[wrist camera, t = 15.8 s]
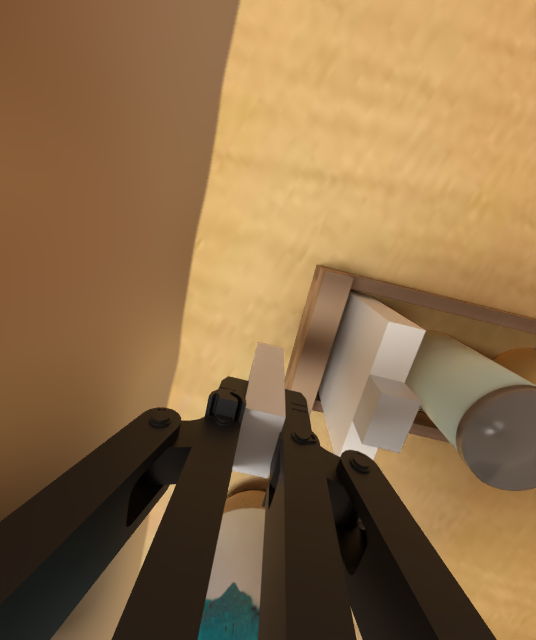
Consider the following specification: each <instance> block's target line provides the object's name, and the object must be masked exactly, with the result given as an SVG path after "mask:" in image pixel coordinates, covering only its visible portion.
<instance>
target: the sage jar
mask: <svg viewBox="0 0 536 640" xmlns="http://www.w3.org/2000/svg"><path fill="white" fill-rule="evenodd" d="M405 384H406V385H407V386H408V387H409V388H410V390H411V391H412V392H413V393H414V394H415V395H416V396H417V398H418V399H419V400H420V401H421V402H422V403H421V405H420V407H421V408H422V410H423V411H424V412H425V413H426V414H427V416H428V417H429V418H430V419H431V420H432V421H433V423H434V424H435V425H436V426H437V427H438V429H439V430H440V431H441V432H442V433H443V435H444V436H445V437H446V438H447V439H448V441H449V442H450V443H451V444H452V445H453V446H454V448H455V449H456V450H457V451H458V453H459V455H460V457H461V458H462V460H463V461H464V462H465V463H466V465H467V466H468V467H469V468H470V470H471V471H472V472H473V473H474V474H475V475H476V477H477V478H479V479H480V480H481V481H482V482H484V483H486V484H487V485H490V486H492V487H495V488H498V489H502V490H511V491H520V490H528V489H533V488H536V385H534V384H533V383H531V382H529V381H527V380H526V379H524V378H522V377H520V376H519V375H517V374H515V373H513V372H512V371H510V370H508V369H506V368H504V367H503V366H501V365H499V364H497V363H496V362H494V361H492V360H490V359H489V358H487V357H485V356H483V355H482V354H480V353H478V352H476V351H475V350H473V349H471V348H469V347H468V346H466V345H464V344H462V343H461V342H459V341H457V340H455V339H454V338H452V337H450V336H448V335H446V334H444V333H441V332H436V331H426V332H425V334H424V336H423V339H422V341H421V344H420V346H419V349H418V351H417V354H416V356H415V359H414V361H413V364H412V366H411V368H410V371H409V373H408V376H407V378H406V381H405Z"/></svg>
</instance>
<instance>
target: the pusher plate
mask: <svg viewBox="0 0 536 640" xmlns="http://www.w3.org/2000/svg"><path fill="white" fill-rule="evenodd" d="M425 332H426V330H424V329H423V328H421V327H420V326H418V325H416V324H415V323H413V322H411V321H410V320H408V319H407V318H405V317H403V316H402V315H400V314H398V313H397V312H395V311H394V310H392V309H390V308H389V307H387V306H386V305H384V304H382V303H381V302H379V301H377V300H376V299H374V298H373V297H371V296H369V295H365V294H361V293H357V292H353V291H350V292H349V295H348V298H347V301H346V304H345V307H344V310H343V314H342V317H341V320H340V323H339V326H338V329H337V332H336V335H335V339H334V342H333V345H332V348H331V351H330V354H329V357H328V361H327V364H326V367H325V370H324V373H323V376H322V379H321V382H320V386H319V389H318V392H319V396H320V400H321V404H322V408H323V412H324V416H325V420H326V424H327V428H328V432H329V436H330V440H331V444H332V448H333V452H334V454H335V455H337V456H339V457H341V454H342V453H343V452H344V451H345V450H355V451H359V452H361V453H363V454H365V455H367V456H368V457H370V458H371V459H372V460H373V459H374V457H375V454H376V452H377V450H378V448H380V449H384V450H389V451H393V452H397V453H400V451H401V449H402V447H403V444H404V442H405V440H406V438H407V435H408V433H409V431H410V428H411V426H412V424H413V421H414V419H415V417H416V414H417V412H418V410H419V407H420V405H421V403H422V402H421V401H420V400H419V399H418V398H417V396H416V395H415V394H414V393H413V392H412V391H411V390H410V388H409V387H408V386H407V385H406V384H405V381H406V378H407V376H408V373H409V371H410V368H411V366H412V364H413V361H414V359H415V356H416V354H417V351H418V349H419V346H420V344H421V341H422V339H423V336H424V334H425Z"/></svg>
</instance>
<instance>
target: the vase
mask: <svg viewBox="0 0 536 640" xmlns="http://www.w3.org/2000/svg"><path fill="white" fill-rule="evenodd" d="M265 493H266V492H264V491H257V490H251V491H244V492H240V493H237V494H235V495H233V496H231V497H229V498H228V499H226V502H225V507H224V512H223V517H222V522H221V527H220V532H219V537H218V541H217V546H216V551H215V556H214V561H213V566H212V571H211V576H210V581H209V586H208V591H207V596H206V600H205V605H204V610H203V615H202V620H201V625H200V630H199V635H198V640H258V627H259V610H260V593H261V576H262V558H263V541H264V524H265V507H266V505H265V507H262V503H263V500H264V497H265Z"/></svg>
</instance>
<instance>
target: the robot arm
mask: <svg viewBox="0 0 536 640" xmlns="http://www.w3.org/2000/svg"><path fill="white" fill-rule="evenodd" d="M307 407H308V405H307V400H306V398H305V397H304V396H303V394H302V393H301V392H296V391H292V390H288V389H285V380H284V348H281V347H277V346H273V345H269V344H264V343H260V342H258V343H257V347H256V351H255V355H254V360H253V364H252V368H251V372H250V376H249V380H248V381H246V380H242V379H238V378H233V377H229V376H228V377H227V378H225V379H224V380H222V382H221V384H220V387H219V389H218V390H215V391H213V392H212V393H211V394H210V395H209V399H208V404H207V409H206V413H205V417H203V418H201V419H198V420H191V421H181V417H180V415H179V414H178V413H177V412H176V411H174V410H172V409H168V408H153V409H149V410H147V411H145V412H144V413H142V414H141V415H140V416H138V417H137V418H136V419H134V420H133V421H132V422H130V423H129V424H128V425H127V426H125V427H124V428H123V429H121V430H120V431H119V432H118V433H116V434H115V435H113V436H112V437H111V438H109V439H108V440H107V441H106V442H105V443H103V444H102V445H100V446H99V447H98V448H97V449H95V450H94V451H92V452H91V453H90V454H89V455H87V456H86V457H85V458H83V459H82V460H81V461H79V462H78V463H77V464H75V465H74V466H73V467H71V468H70V469H69V470H68V471H66V472H65V473H64V474H62V475H61V476H60V477H58V478H57V479H56V480H54V481H53V482H52V483H50V484H49V485H48V486H46V487H45V488H44V489H43V490H41V491H40V492H39V493H37V494H36V495H35V496H33V497H32V498H31V499H29V500H28V501H27V502H25V503H24V504H23V505H22V506H20V507H19V508H18V509H16V510H15V511H14V512H12V513H11V514H10V515H8V516H7V517H6V518H4V519H3V520H2V521H1V522H0V640H50V639H51V637H52V636H53V635H54V634H55V632H56V631H57V630H58V629H59V627H60V626H61V625H62V624H63V622H64V621H65V620H66V618H67V617H68V616H69V615H70V613H71V612H72V611H73V610H74V608H75V607H76V606H77V604H78V603H79V602H80V601H81V599H82V598H83V597H84V595H85V594H86V593H87V592H88V590H89V589H90V588H91V586H92V585H93V584H94V583H95V581H96V580H97V579H98V578H99V576H100V575H101V574H102V572H103V571H104V570H105V569H106V567H107V566H108V565H109V563H110V562H111V561H112V560H113V558H114V557H115V556H116V555H117V553H118V552H119V551H120V549H121V548H122V547H123V545H124V544H125V543H126V542H127V540H128V539H129V538H130V537H131V535H132V534H133V533H134V531H135V530H136V529H137V528H138V526H139V525H140V524H141V522H142V521H143V520H144V519H145V517H146V516H147V515H148V514H149V512H150V511H151V510H152V508H153V507H154V506H155V505H156V503H157V502H158V501H159V499H160V498H161V497H162V496H163V494H164V493H165V492H166V491H167V489H168V487H169V485H170V484H176V486H175V489H174V491H173V494H172V496H171V498H170V501H169V503H168V506H167V508H166V510H165V513H164V515H163V518H162V520H161V522H160V525H159V527H158V530H157V532H156V534H155V537H154V539H153V542H152V544H151V546H150V549H149V551H148V553H147V556H146V558H145V561H144V563H143V565H142V568H141V570H140V573H139V575H138V578H137V580H136V582H135V585H134V587H133V589H132V593H131V594H130V597H129V599H128V601H127V604H126V606H125V609H124V611H123V614H122V616H121V618H120V621H119V623H118V626H117V628H116V630H115V633H114V635H113V638H112V640H198V635H199V630H200V625H201V620H202V615H203V610H204V605H205V600H206V596H207V591H208V586H209V581H210V576H211V571H212V566H213V561H214V556H215V551H216V546H217V541H218V537H219V532H220V527H221V522H222V517H223V512H224V507H225V502H226V497H227V492H228V487H229V482H230V478H231V473H232V471H237V472H241V473H245V474H250V475H254V476H259V477H263V478H268V475H269V472H270V480H269V483H268V487H267V490H266V493H265V497H264V500H263V503H262V507H265V505H266V507H265V524H264V541H263V558H262V576H261V593H260V610H259V627H258V640H357V639H356V634H355V629H354V623H353V618H352V613H351V609H352V612H353V614H354V617H355V620H356V623H357V625H358V628H359V631H360V633H361V636H362V639H363V640H497V639H496V638H495V636H494V635H493V633H492V632H491V631H490V629H489V628H488V626H487V625H486V623H485V622H484V620H483V619H482V617H481V616H480V614H479V613H478V612H477V610H476V609H475V607H474V606H473V604H472V603H471V601H470V600H469V598H468V597H467V596H466V594H465V593H464V591H463V590H462V588H461V587H460V585H459V584H458V582H457V581H456V579H455V578H454V577H453V575H452V574H451V572H450V571H449V569H448V568H447V566H446V565H445V563H444V562H443V560H442V559H441V558H440V556H439V555H438V553H437V552H436V550H435V549H434V547H433V546H432V544H431V543H430V541H429V540H428V539H427V537H426V536H425V534H424V533H423V531H422V530H421V528H420V527H419V525H418V524H417V523H416V521H415V520H414V518H413V517H412V515H411V514H410V512H409V511H408V509H407V508H406V506H405V505H404V504H403V502H402V501H401V499H400V498H399V496H398V495H397V493H396V492H395V490H394V489H393V487H392V486H391V485H390V483H389V482H388V480H387V479H386V477H385V476H384V474H383V473H382V471H381V470H380V468H379V467H378V466H377V464H376V463H375V462H374V461H373V460H372V459H371V458H370V457H368V456H367V455H365V454H363V453H361V452H359V451H355V450H345V451H344V452H343V453H342V454H341V457H339V456H337V455H335V454H333V453H331V452H329V451H327V450H325V449H323V448H322V447H321V446H320V442H319V439H318V437H317V436H316V435H315V434H314V433H313V432H312V430H311V424H310V418H309V413H308V408H307ZM350 606H351V607H350Z"/></svg>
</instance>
